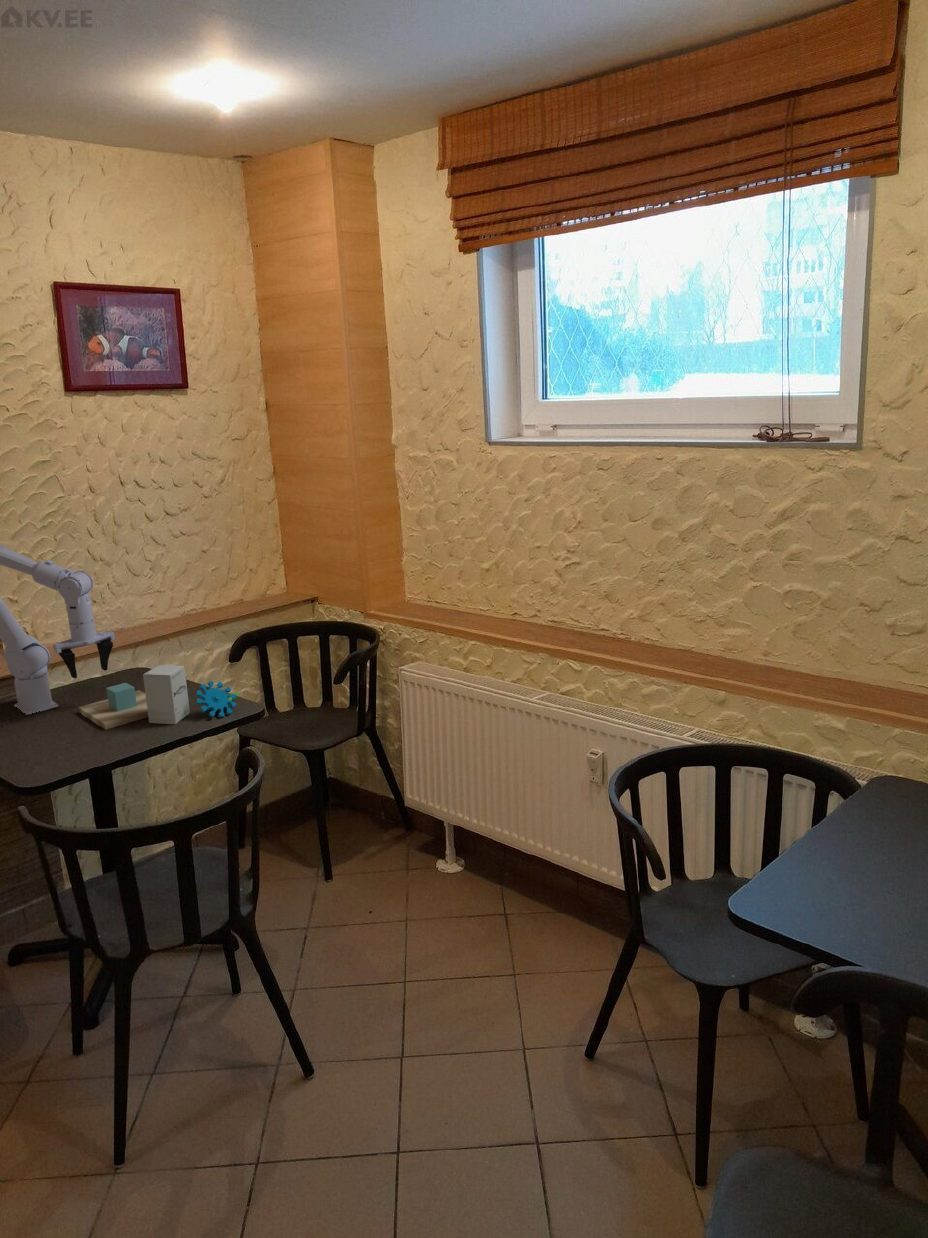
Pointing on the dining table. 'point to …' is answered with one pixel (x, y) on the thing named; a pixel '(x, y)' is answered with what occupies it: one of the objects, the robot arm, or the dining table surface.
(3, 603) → the robot arm
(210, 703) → the gear
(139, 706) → the post board
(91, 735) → the dining table surface
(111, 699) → the mint green cube
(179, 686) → the supplement box
